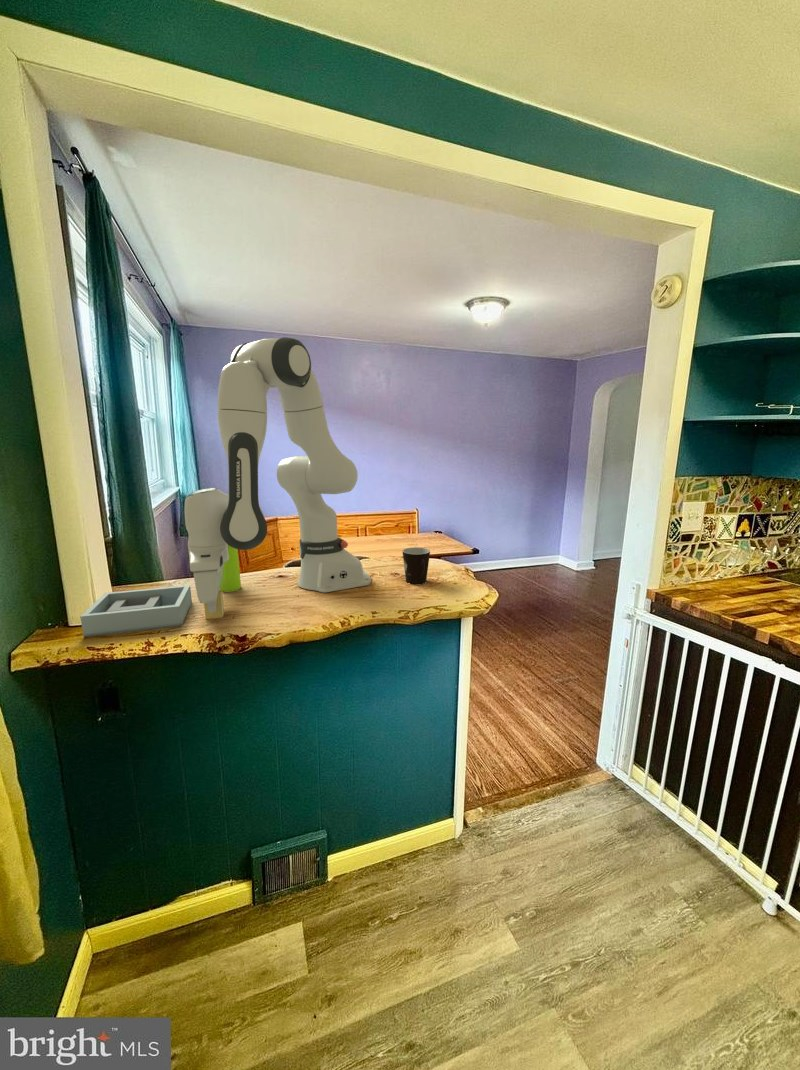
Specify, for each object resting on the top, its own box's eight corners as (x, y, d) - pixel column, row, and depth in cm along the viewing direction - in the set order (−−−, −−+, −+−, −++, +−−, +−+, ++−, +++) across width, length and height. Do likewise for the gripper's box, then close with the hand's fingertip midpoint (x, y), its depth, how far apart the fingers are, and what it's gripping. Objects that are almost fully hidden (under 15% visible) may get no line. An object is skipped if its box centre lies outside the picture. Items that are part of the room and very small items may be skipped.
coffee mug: (404, 576, 138) (404, 547, 136) (430, 577, 137) (431, 547, 135) (399, 588, 127) (399, 556, 125) (427, 589, 126) (428, 557, 124)
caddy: (192, 602, 116) (190, 585, 115) (181, 625, 102) (179, 606, 100) (107, 611, 111) (105, 592, 110) (83, 637, 96) (80, 616, 95)
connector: (224, 611, 110) (222, 589, 109) (222, 617, 107) (220, 594, 105) (207, 613, 109) (205, 591, 108) (205, 619, 105) (203, 596, 104)
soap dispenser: (213, 591, 125) (206, 525, 121) (229, 584, 131) (223, 520, 127) (229, 593, 123) (222, 526, 119) (245, 586, 129) (239, 522, 125)
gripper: (200, 545, 113) (206, 594, 116) (188, 566, 94) (194, 624, 97) (226, 544, 115) (230, 592, 118) (218, 564, 96) (224, 621, 99)
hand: (214, 607), depth 107 cm, fingers closed on connector, 4 cm apart
